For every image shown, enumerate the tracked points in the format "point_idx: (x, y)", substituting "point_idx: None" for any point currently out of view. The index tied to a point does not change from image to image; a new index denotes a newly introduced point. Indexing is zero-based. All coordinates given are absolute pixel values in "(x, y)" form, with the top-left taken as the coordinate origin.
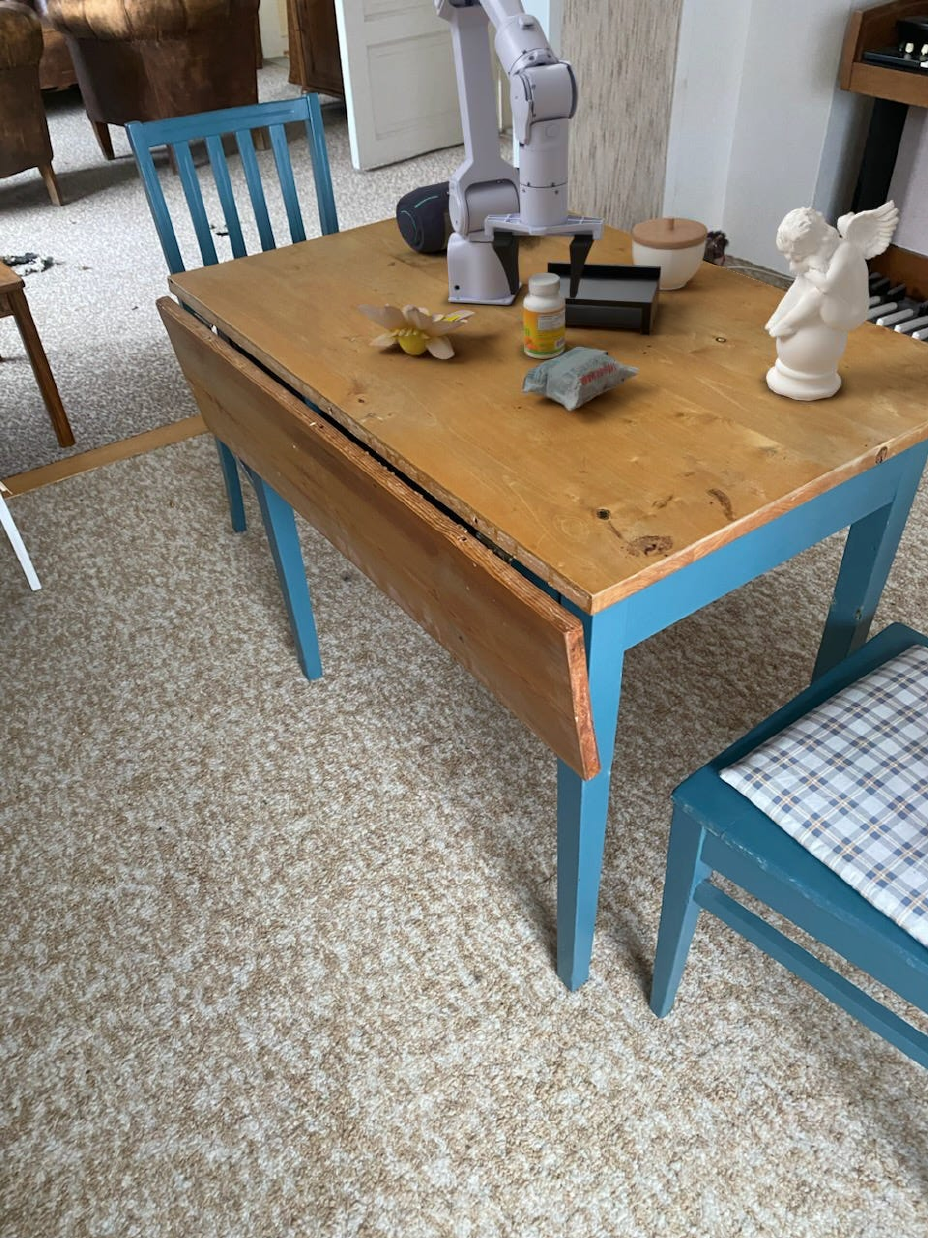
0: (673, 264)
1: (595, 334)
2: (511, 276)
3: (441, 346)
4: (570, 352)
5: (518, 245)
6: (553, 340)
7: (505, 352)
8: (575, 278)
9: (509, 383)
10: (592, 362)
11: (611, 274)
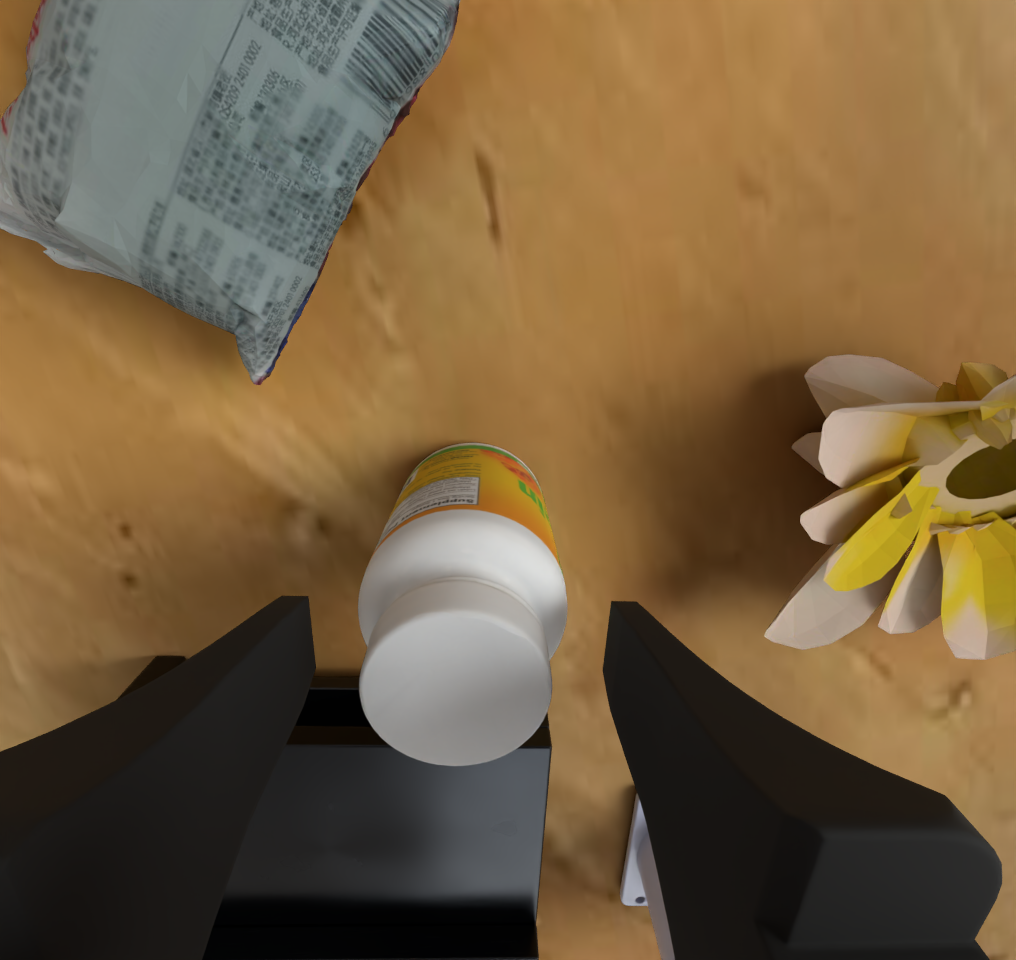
0: None
1: (330, 641)
2: (663, 655)
3: (873, 385)
4: (227, 159)
5: (675, 942)
6: (418, 476)
7: (607, 482)
8: (209, 652)
9: (552, 221)
10: (68, 41)
11: (306, 922)
